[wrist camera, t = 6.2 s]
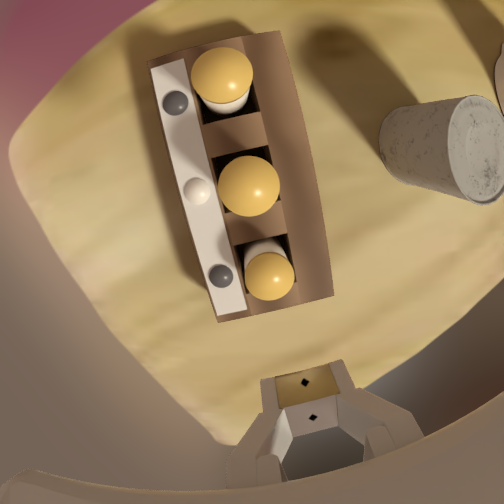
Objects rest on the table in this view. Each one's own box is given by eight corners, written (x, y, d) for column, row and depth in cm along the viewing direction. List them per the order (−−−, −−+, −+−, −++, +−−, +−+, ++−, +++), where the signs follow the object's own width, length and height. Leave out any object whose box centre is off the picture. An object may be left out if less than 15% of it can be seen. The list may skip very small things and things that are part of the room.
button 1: (242, 71, 23) (245, 41, 16) (252, 110, 25) (259, 94, 17) (199, 81, 24) (185, 55, 16) (208, 121, 25) (197, 108, 18)
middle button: (262, 151, 26) (272, 149, 19) (272, 193, 27) (285, 209, 20) (218, 161, 26) (211, 164, 19) (229, 203, 28) (226, 222, 20)
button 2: (276, 226, 31) (289, 249, 24) (284, 261, 32) (297, 294, 25) (238, 235, 31) (239, 261, 24) (247, 270, 33) (251, 305, 25)
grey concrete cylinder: (371, 173, 30) (437, 188, 19) (385, 94, 27) (452, 75, 16) (434, 194, 31) (503, 217, 20) (446, 122, 28) (517, 122, 17)
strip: (184, 59, 21) (183, 57, 21) (247, 307, 29) (247, 310, 28) (151, 69, 21) (149, 68, 21) (217, 314, 29) (217, 316, 28)
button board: (273, 47, 25) (279, 30, 21) (321, 276, 34) (334, 295, 29) (160, 74, 26) (146, 61, 21) (220, 299, 34) (217, 323, 29)
